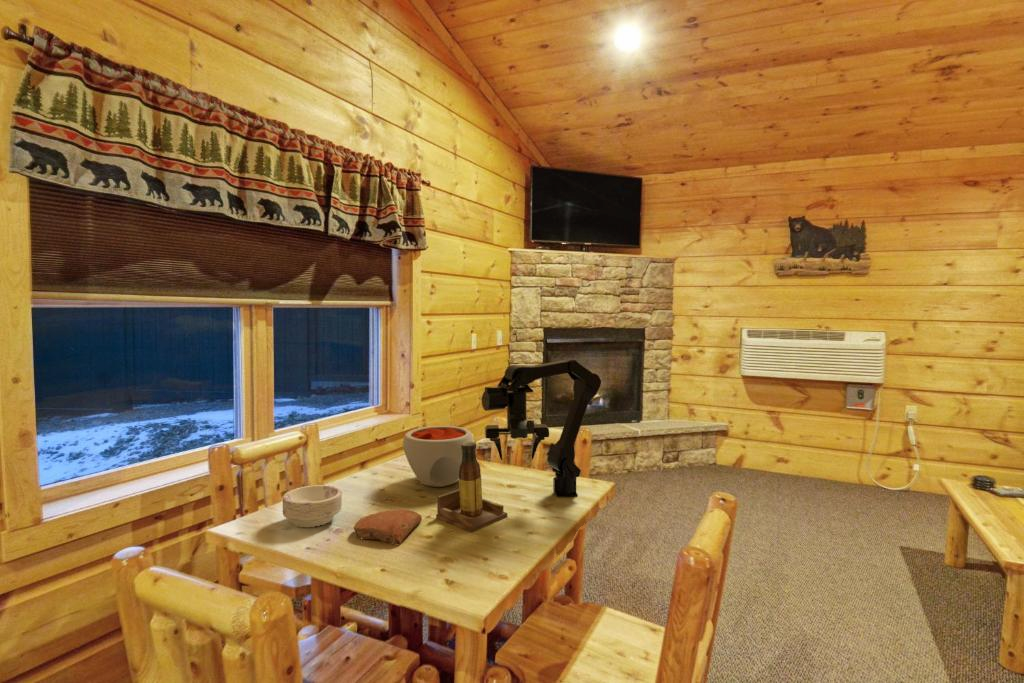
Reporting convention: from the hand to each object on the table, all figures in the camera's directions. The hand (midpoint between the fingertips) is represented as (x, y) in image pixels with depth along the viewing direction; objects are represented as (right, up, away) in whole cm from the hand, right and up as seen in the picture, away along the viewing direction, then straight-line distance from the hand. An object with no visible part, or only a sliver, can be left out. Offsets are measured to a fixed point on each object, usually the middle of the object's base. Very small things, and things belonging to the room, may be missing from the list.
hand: (516, 459), depth 161 cm
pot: (-26, -12, +19) cm, 34 cm away
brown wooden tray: (-13, -14, -10) cm, 22 cm away
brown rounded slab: (-34, -15, -20) cm, 42 cm away
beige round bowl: (-56, -14, -13) cm, 59 cm away
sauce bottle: (-13, -13, -10) cm, 21 cm away
